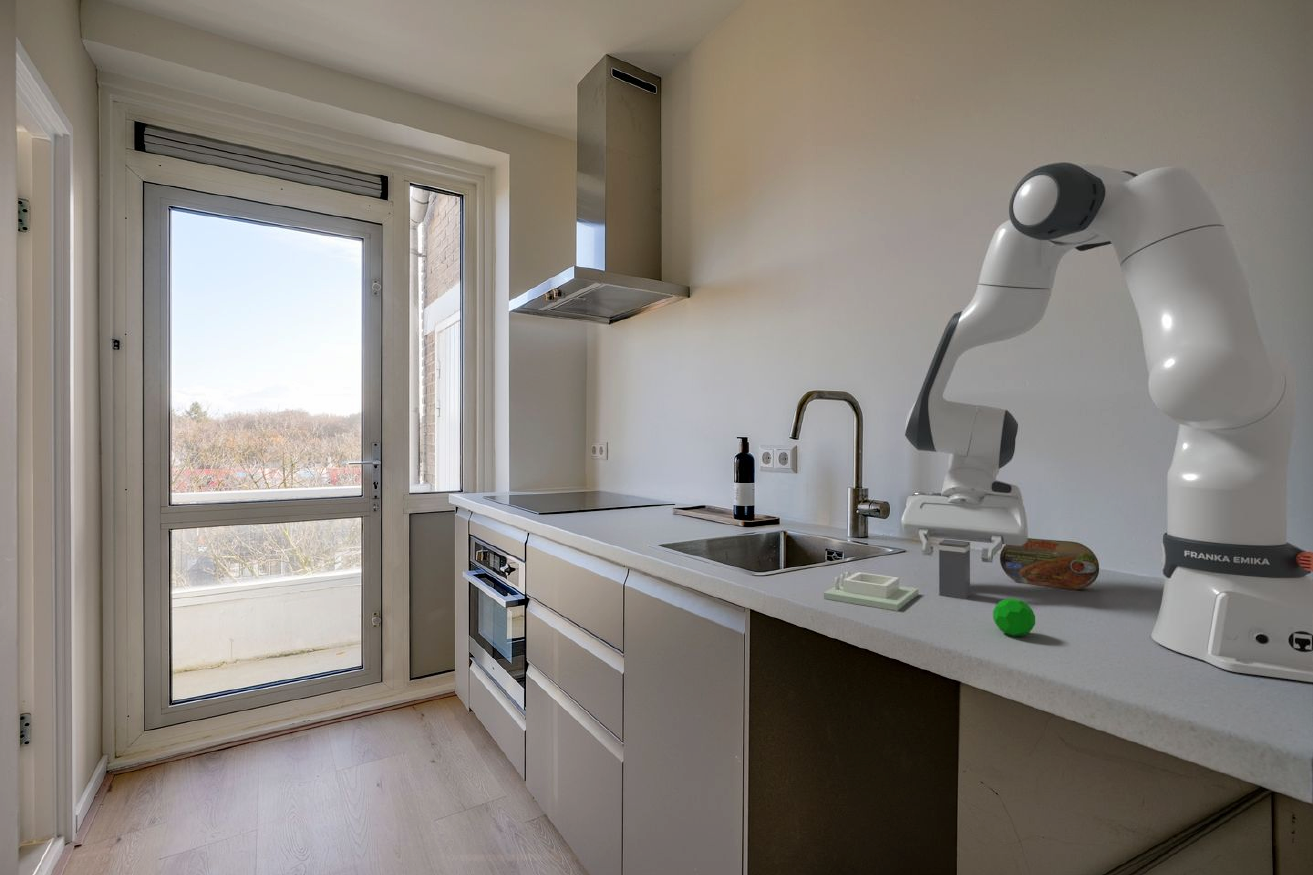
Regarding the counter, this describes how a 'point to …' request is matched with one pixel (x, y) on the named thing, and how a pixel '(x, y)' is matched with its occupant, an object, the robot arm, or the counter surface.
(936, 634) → the counter surface
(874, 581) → the board
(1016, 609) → the polyhedron
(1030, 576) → the tin
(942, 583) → the dark grey tall block
